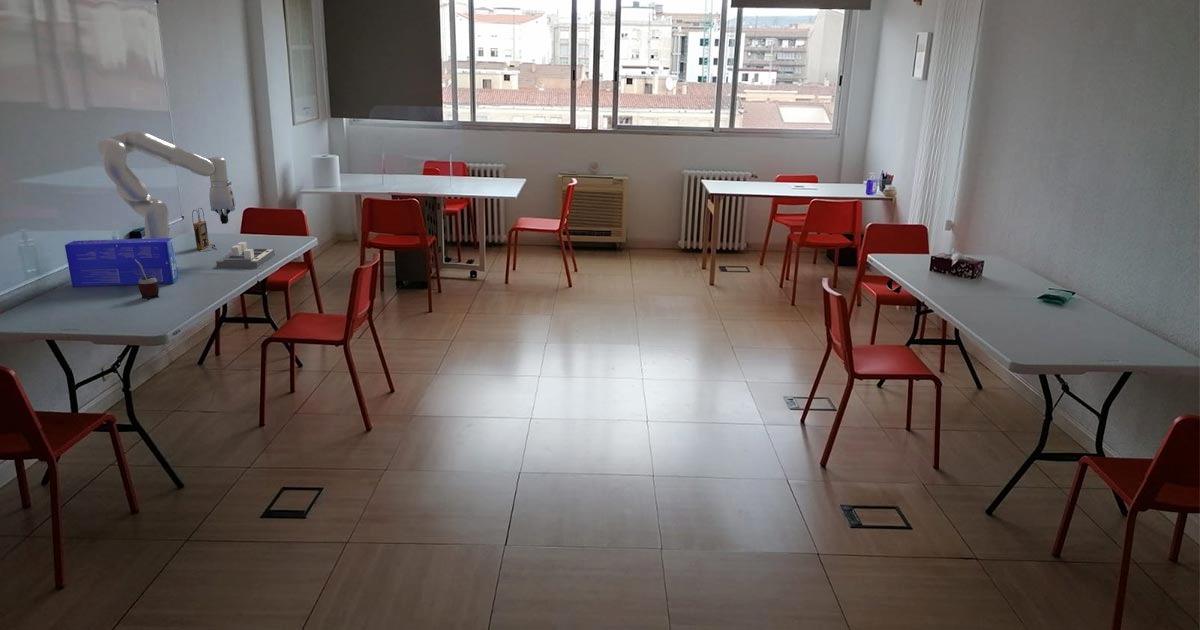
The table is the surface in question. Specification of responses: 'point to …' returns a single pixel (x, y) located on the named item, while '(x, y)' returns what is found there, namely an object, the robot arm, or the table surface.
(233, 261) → the switch bank
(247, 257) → the tab
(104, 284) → the toner cartridge box
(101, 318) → the table surface
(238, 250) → the tab middle
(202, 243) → the multimeter
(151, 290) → the mate gourd
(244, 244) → the tab
